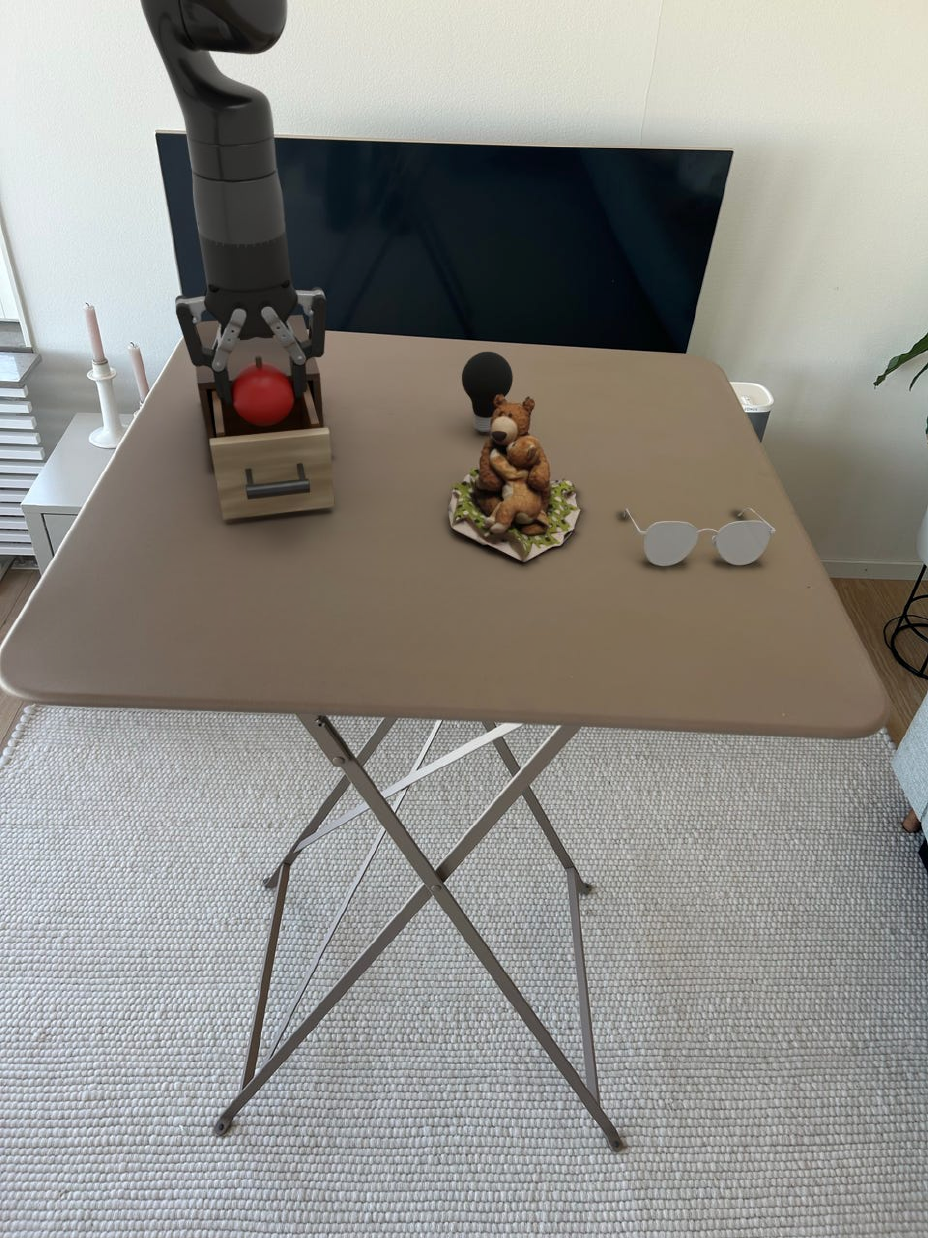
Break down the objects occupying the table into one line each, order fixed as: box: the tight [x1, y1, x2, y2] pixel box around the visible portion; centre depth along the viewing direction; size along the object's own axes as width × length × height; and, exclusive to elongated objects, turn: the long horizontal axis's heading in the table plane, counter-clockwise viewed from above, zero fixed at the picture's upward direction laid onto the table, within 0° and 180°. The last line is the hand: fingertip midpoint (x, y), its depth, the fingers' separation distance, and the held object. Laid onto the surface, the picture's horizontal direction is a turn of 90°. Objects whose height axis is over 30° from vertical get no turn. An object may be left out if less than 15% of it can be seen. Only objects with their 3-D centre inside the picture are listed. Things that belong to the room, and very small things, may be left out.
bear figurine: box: [447, 394, 581, 563], centre depth 90 cm, size 14×15×12 cm
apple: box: [231, 356, 294, 426], centre depth 88 cm, size 6×6×7 cm
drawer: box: [210, 381, 336, 520], centre depth 91 cm, size 18×11×9 cm, turn 15°
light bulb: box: [461, 351, 514, 434], centre depth 103 cm, size 6×6×10 cm
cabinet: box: [195, 314, 325, 471], centre depth 101 cm, size 15×13×11 cm
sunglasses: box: [622, 507, 776, 567], centre depth 91 cm, size 14×8×5 cm, turn 94°
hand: (263, 397), depth 88 cm, fingers closed on apple, 6 cm apart
